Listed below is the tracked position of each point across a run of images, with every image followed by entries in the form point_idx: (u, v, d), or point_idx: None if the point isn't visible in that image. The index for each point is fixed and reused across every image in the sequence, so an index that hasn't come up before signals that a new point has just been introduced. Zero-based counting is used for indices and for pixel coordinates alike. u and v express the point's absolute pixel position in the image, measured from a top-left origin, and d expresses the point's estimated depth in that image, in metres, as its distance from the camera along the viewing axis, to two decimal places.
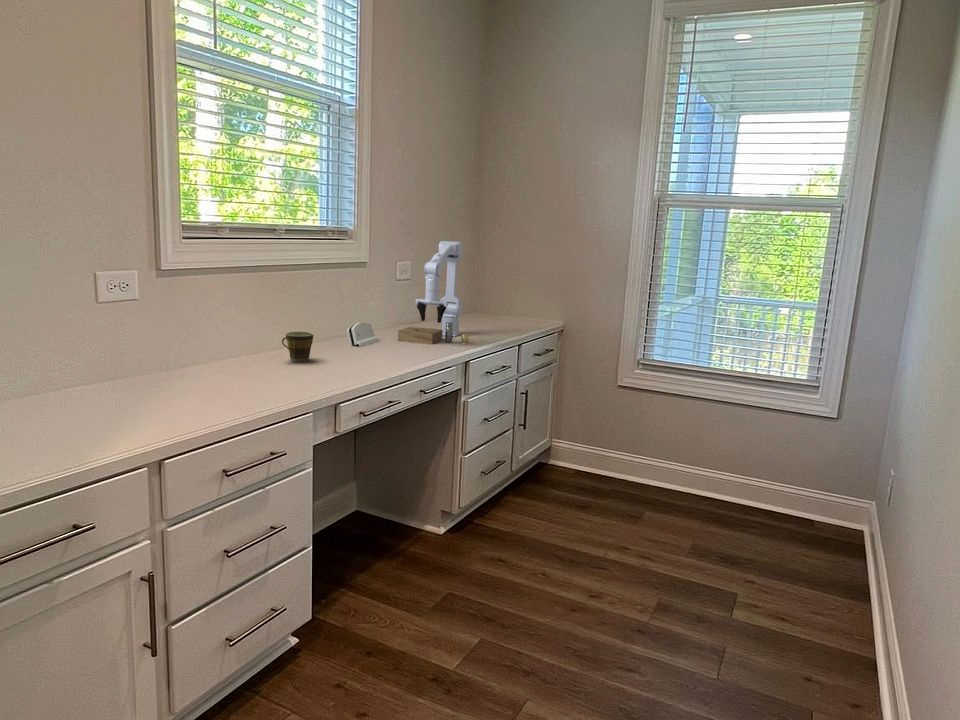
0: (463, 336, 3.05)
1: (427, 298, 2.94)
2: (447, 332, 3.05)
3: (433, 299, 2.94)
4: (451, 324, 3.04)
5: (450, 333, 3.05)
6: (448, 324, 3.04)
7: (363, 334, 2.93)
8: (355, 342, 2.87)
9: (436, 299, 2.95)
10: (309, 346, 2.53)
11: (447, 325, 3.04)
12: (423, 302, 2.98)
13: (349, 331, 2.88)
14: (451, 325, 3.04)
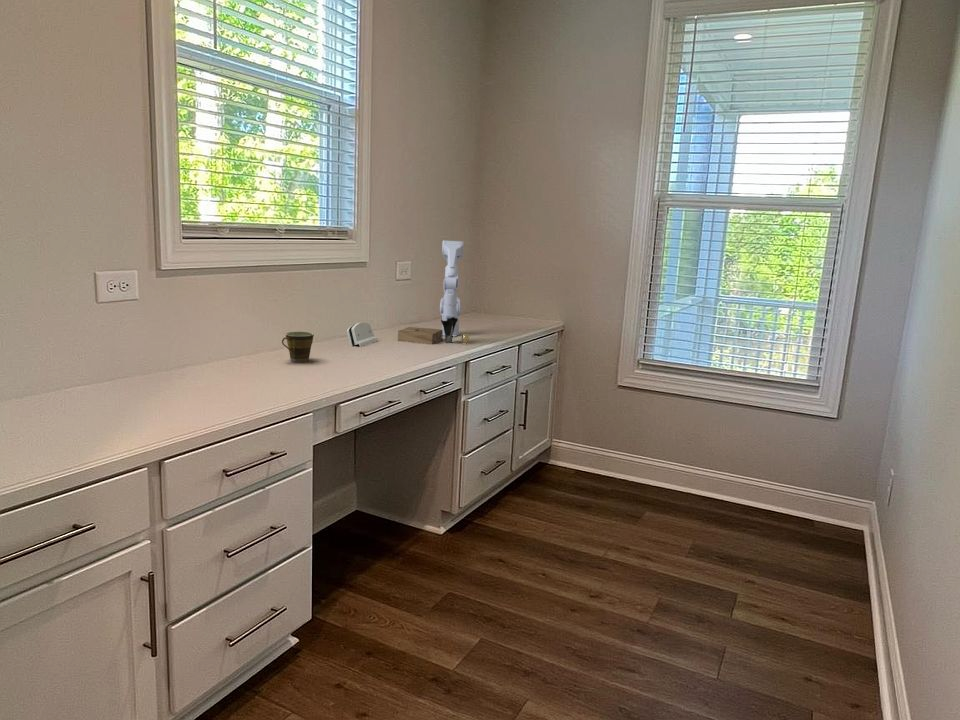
0: (463, 336, 3.05)
1: None
2: None
3: (443, 312, 3.03)
4: None
5: None
6: None
7: (363, 334, 2.93)
8: (355, 342, 2.87)
9: (445, 313, 3.02)
10: (309, 346, 2.53)
11: None
12: None
13: (349, 331, 2.88)
14: None
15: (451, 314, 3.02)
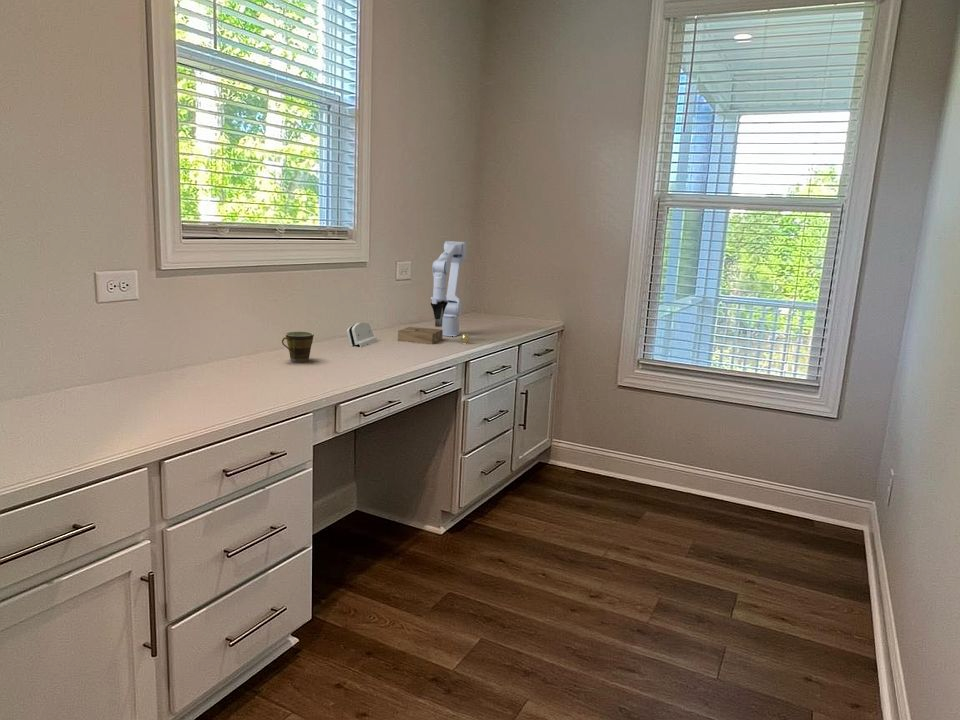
0: (463, 336, 3.05)
1: None
2: None
3: (433, 296, 3.03)
4: None
5: (440, 317, 3.04)
6: None
7: (363, 334, 2.93)
8: (356, 342, 2.87)
9: (435, 296, 3.02)
10: (309, 346, 2.53)
11: None
12: None
13: (349, 331, 2.88)
14: None
15: (441, 297, 3.01)
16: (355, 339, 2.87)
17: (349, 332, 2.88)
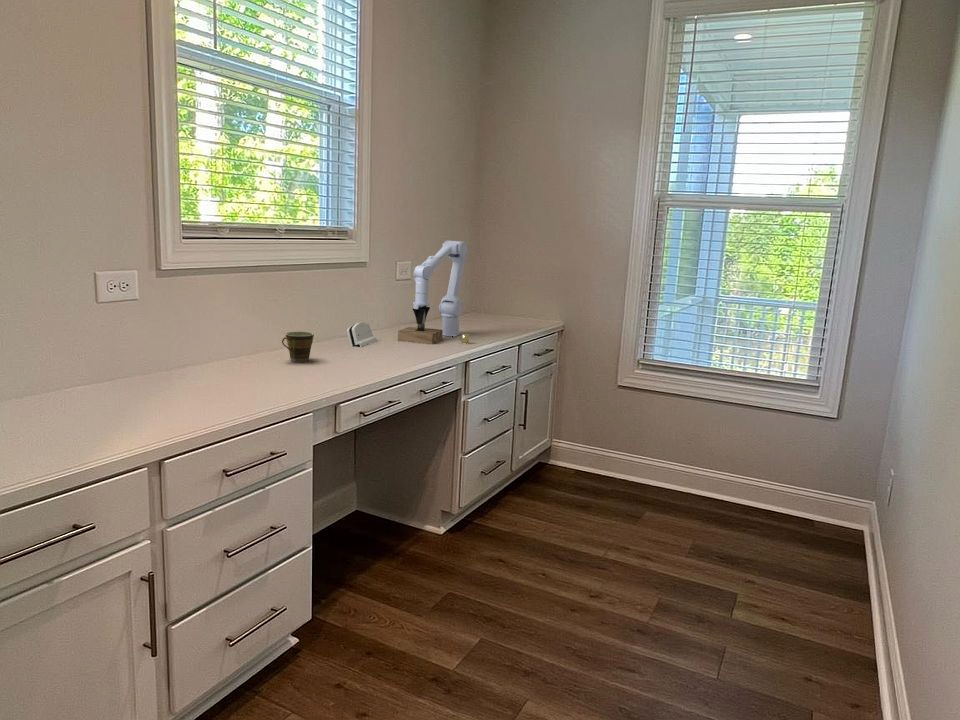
0: (463, 336, 3.05)
1: None
2: None
3: (415, 301, 3.05)
4: None
5: (422, 322, 3.06)
6: None
7: (362, 334, 2.93)
8: (356, 342, 2.87)
9: (417, 301, 3.04)
10: (309, 346, 2.53)
11: None
12: None
13: (349, 331, 2.87)
14: None
15: (423, 302, 3.03)
16: (355, 339, 2.87)
17: (349, 332, 2.87)
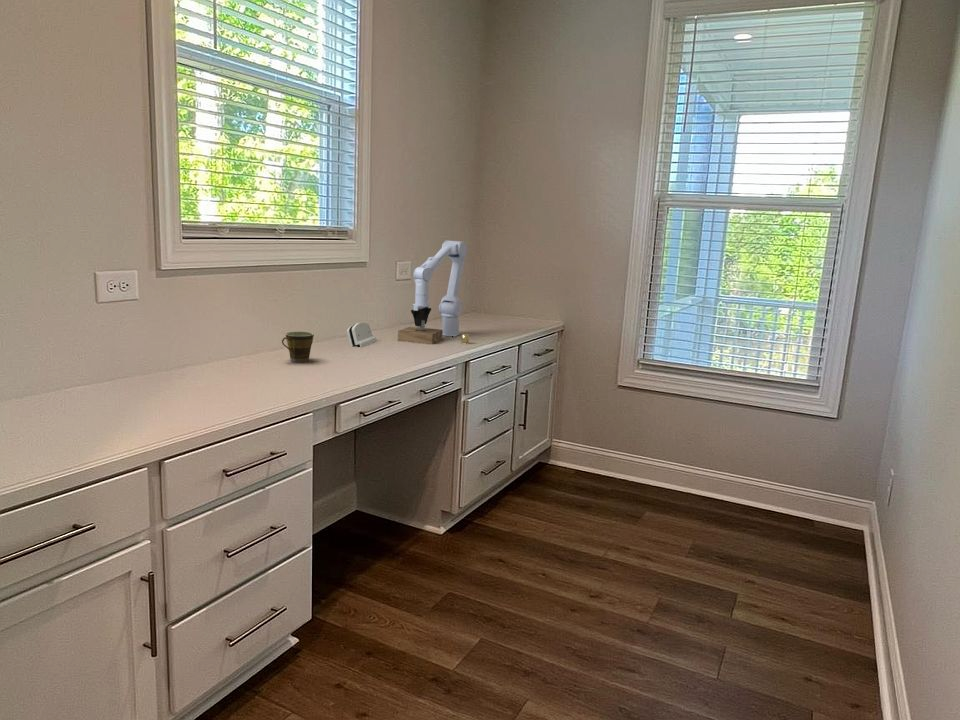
0: (463, 336, 3.05)
1: None
2: (419, 330, 3.07)
3: (415, 302, 3.05)
4: (423, 322, 3.07)
5: None
6: None
7: (362, 334, 2.93)
8: (356, 342, 2.86)
9: (417, 303, 3.04)
10: (309, 346, 2.53)
11: None
12: None
13: (349, 331, 2.87)
14: (423, 323, 3.07)
15: (423, 304, 3.03)
16: (355, 339, 2.86)
17: (349, 332, 2.87)
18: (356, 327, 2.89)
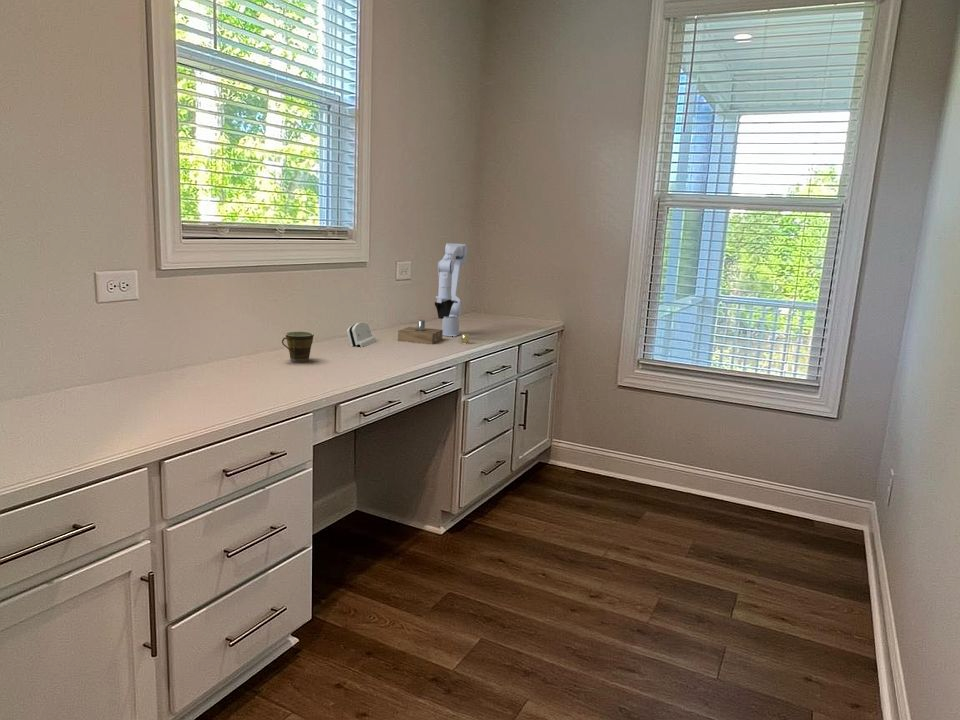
0: (463, 336, 3.05)
1: None
2: (419, 330, 3.07)
3: (438, 295, 3.07)
4: (423, 322, 3.07)
5: None
6: (420, 322, 3.06)
7: (362, 334, 2.93)
8: (356, 342, 2.86)
9: (440, 295, 3.06)
10: (309, 346, 2.53)
11: (419, 323, 3.07)
12: None
13: (349, 331, 2.87)
14: (423, 323, 3.07)
15: (446, 296, 3.05)
16: (355, 339, 2.86)
17: (349, 332, 2.87)
18: (356, 327, 2.89)
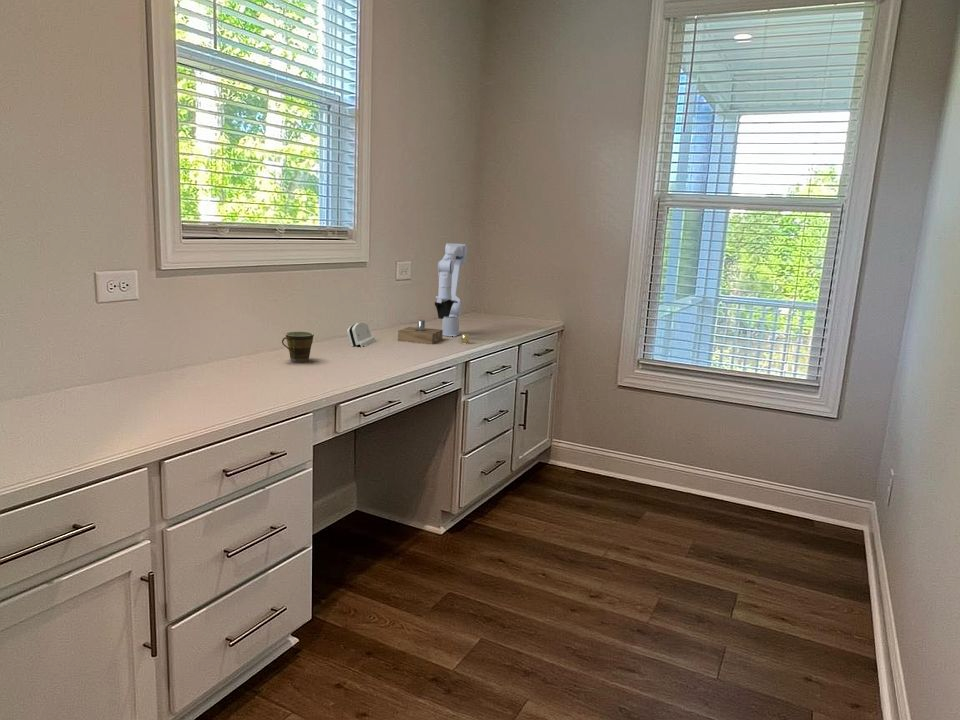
0: (463, 336, 3.05)
1: None
2: (419, 330, 3.07)
3: (438, 295, 3.07)
4: (423, 322, 3.07)
5: None
6: (420, 322, 3.06)
7: (362, 334, 2.93)
8: (356, 342, 2.86)
9: (440, 295, 3.06)
10: (309, 346, 2.53)
11: (419, 323, 3.07)
12: None
13: (349, 332, 2.87)
14: (423, 323, 3.07)
15: (446, 296, 3.05)
16: (356, 339, 2.86)
17: (349, 332, 2.87)
18: (356, 327, 2.88)
